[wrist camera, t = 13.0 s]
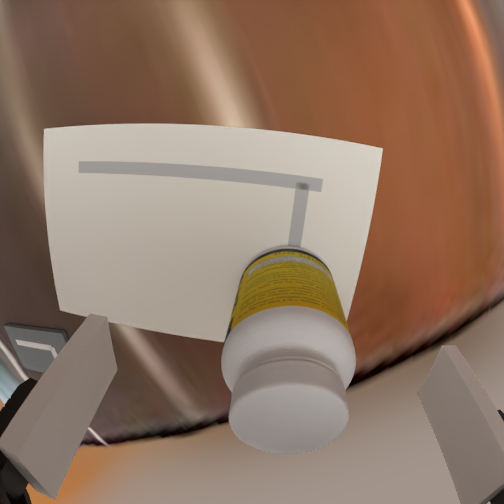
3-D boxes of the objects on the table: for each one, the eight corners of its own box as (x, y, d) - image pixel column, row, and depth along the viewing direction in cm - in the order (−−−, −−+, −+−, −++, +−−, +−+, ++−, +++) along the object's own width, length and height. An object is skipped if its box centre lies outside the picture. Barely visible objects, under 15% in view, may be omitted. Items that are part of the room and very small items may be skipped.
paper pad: (64, 306, 21) (59, 310, 20) (49, 128, 16) (43, 128, 16) (335, 347, 20) (337, 353, 20) (379, 147, 16) (383, 148, 15)
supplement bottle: (226, 256, 18) (180, 379, 9) (322, 232, 17) (368, 345, 8) (253, 334, 20) (236, 469, 10) (339, 315, 19) (374, 448, 10)
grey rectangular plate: (26, 365, 24) (23, 368, 24) (6, 322, 23) (3, 325, 22) (85, 376, 24) (82, 380, 23) (64, 330, 22) (61, 333, 21)
